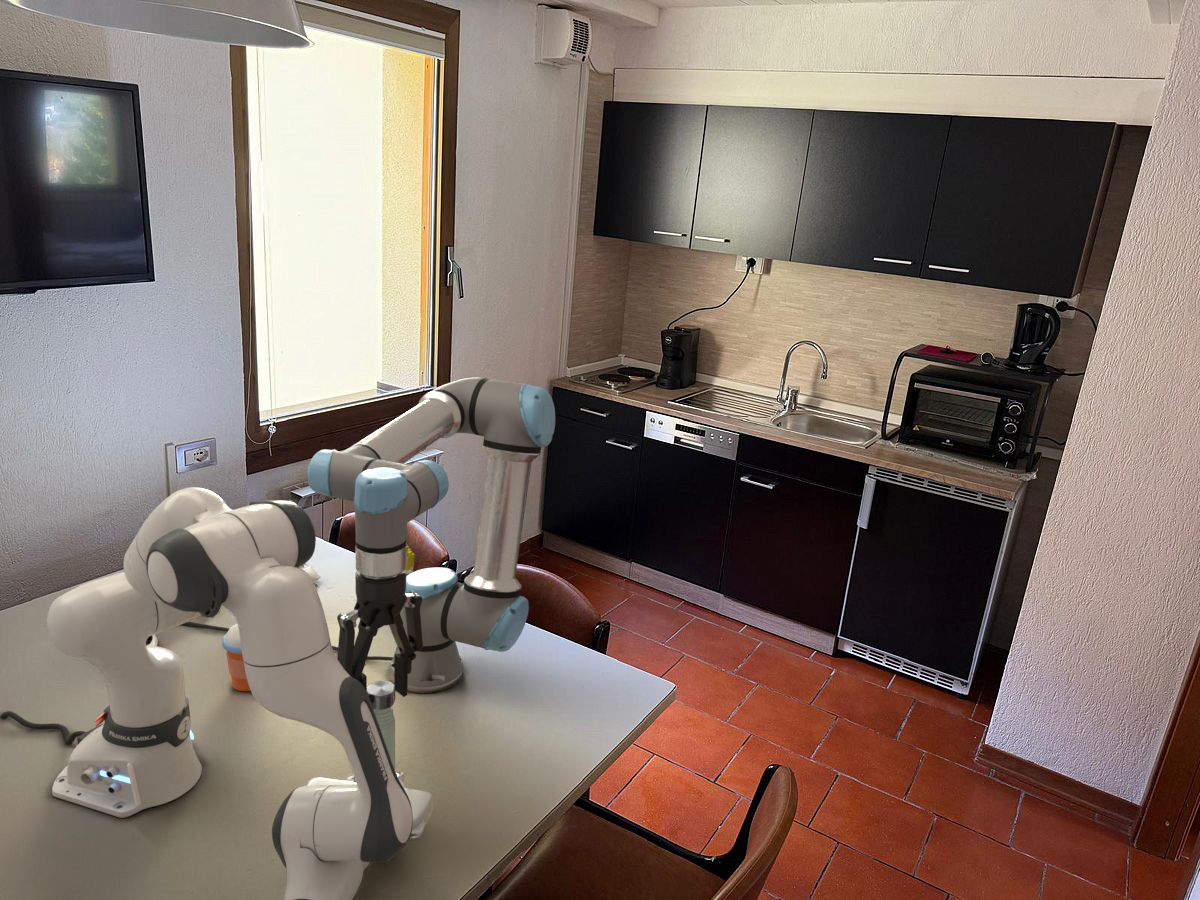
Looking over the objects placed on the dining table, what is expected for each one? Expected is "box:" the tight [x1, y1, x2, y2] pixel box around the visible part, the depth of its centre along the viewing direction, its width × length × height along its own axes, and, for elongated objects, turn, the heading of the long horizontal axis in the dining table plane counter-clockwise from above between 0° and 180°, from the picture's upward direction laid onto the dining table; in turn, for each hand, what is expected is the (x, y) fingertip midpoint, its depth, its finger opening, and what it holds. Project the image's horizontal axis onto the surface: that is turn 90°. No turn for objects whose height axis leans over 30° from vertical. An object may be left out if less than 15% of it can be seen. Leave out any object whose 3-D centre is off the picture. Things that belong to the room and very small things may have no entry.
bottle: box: [373, 706, 396, 770], centre depth 139 cm, size 4×4×23 cm
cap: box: [367, 680, 396, 710], centre depth 136 cm, size 4×4×3 cm
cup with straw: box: [221, 622, 251, 692], centre depth 171 cm, size 9×9×18 cm
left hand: (382, 773), depth 142 cm, fingers closed on bottle, 4 cm apart
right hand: (380, 700), depth 137 cm, fingers open, 7 cm apart
